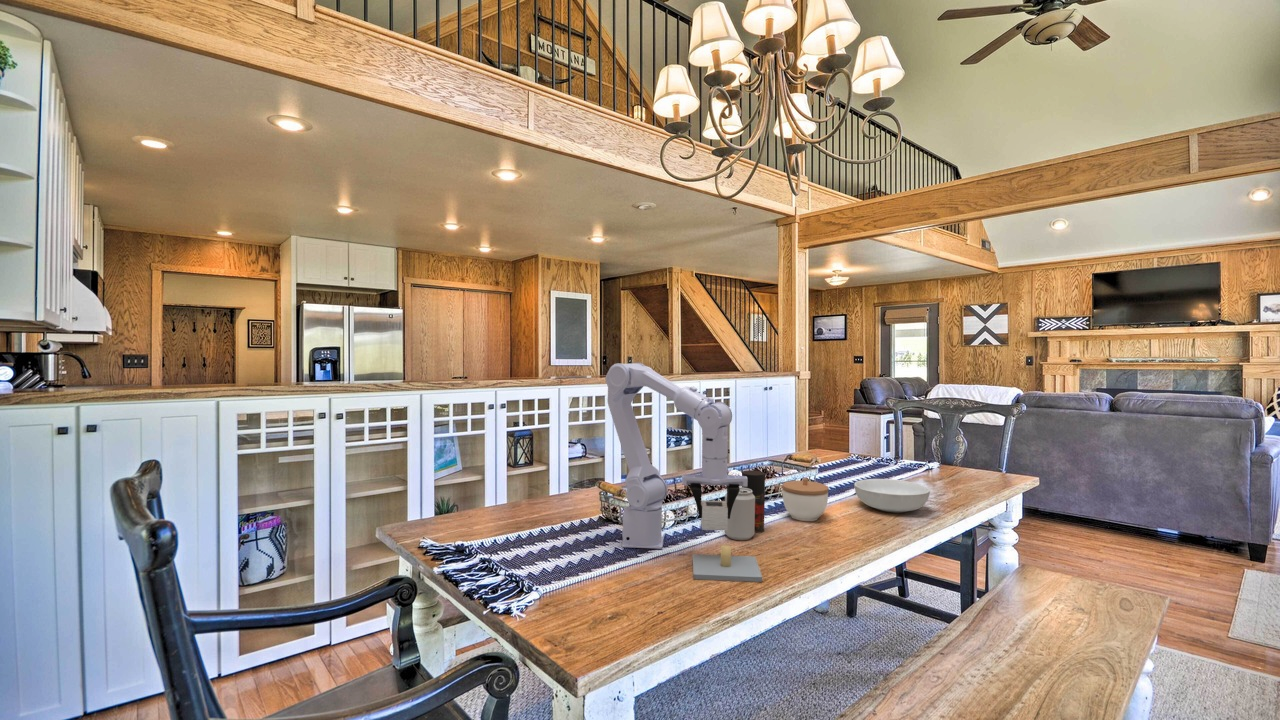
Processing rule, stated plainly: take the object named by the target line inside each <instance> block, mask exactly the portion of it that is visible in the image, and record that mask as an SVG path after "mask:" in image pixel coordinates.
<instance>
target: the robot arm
mask: <svg viewBox="0 0 1280 720" xmlns="http://www.w3.org/2000/svg"><path fill="white" fill-rule="evenodd" d="M604 379H605V382H606V385H607V406H608V409H609V412H610V414H611V417H612V421H613V424H614V425H613V426H614V427H615V430H616V434H617V436H618V440H619V443H620V446H621V449H622V453H623V455H624V459H625V462H626V465H627V469H628V473H627V475H626V477H625V480H624V483H625V486H626V494H625V495H626V496H625V497H626V500H627V502H628V504H629V505H627V506H624V507H623V513H622V531H621V535H622V547H623V548H629V549H630V548H631V549H632V548H633V549H635V548H637V549H656V550H657V549H659V550H660V549H663V545H664V536H663V535H662V532H663V531H662V528H663V527H662V525H663V524H662V521H663V519H662V517H663V500H665V498H666V497H667V495H668V491H669V490H668V484H667V483H666V481H665V480H664V478H663V477H662V476H661V474H660V471H659V469H658V468H656V466H654V465H652V464H651V461H650V459H649V458H650V457H649V455H648V451H647V449H646V445H645V442H644V440H643V437H642V434H641V430H640V427H639V425H638V421H637V419H636V415H635V412H634V409H633V406H632V403H633V400H634V398H635V396H636V395H637V394H638V393H640V391H641V390H643V388H644V387H647V388H649V389H651V390H652V391H655V392H656V393H659V394H660V395H662V396H664V397H666V398H668V399H670V400H672V401H673V403H674V407H675V409H677V410H679V411H681V412H682V413H684V414H685V415H688V417H690V418H692V419H693V420H696V421H697V423H698V425H699V426H700V428H701V436H702V437H701V440H702V441H701V442H702V443H701V445H702V446H701V473H700V474H699V473H698V474H697V473H696V474H681V485H682V486H688V485H689V488H690V492H691V494H692V495H693V498H694V501H695V504H696V508H697V513H698V518H699V519H701V518H702V508H701V501H702V493H703V492H702V486H707V485H708V486H726V494H727V507H728V519H730V515H731V510H732V507H733V504H734V501H735V499H736V497H737V495H738V493H739V491H740V488H739V487H742V486H743V487H747V482H748V478H747V476H742V475H734V474H728V461H729V460H728V456H729V455H728V451H729V449H728V447H729V444H728V443H729V440H728V439H729V437H728V435H729V434H728V433H729V427H728V426H729V425H730V424H731V423H732V420H733V412H732V409H731V408H730V406H728V405H727V404H726V403H725V402H723V401H717V402H715V399H714V398H713V397H711V396H709V397H707V396H705V395H704V394H702V393H700V392H699V391H698V388H697V387H695V386H685V387H682V388H681V387H680V386H678V385H677V384H675V383H674V382H672V381H670V380H669V379H668V378H665V376H662V375H661V374H659V373H658V372H657V371H655V370H654V369H653V368H651V367H650V366H646V365H645V364H643V363H642V362H634V363H633V362H632V363H614V364H612V365H611V366H610V367H609V370H607V373H606V376H605V377H604Z"/></svg>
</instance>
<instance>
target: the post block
mask: <svg viewBox="0 0 1280 720" xmlns="http://www.w3.org/2000/svg"><path fill="white" fill-rule="evenodd" d="M692 574H693V575H692V576H693V577H692V578H693V580H701V581H702V580H703V581H705V580H706V581H727V582H729V581H730V582H732V581H733V582H750V583H751V582H752V583H753V582H754V583H763V575H762V572H761V569H760V566H759V563H758V561H757V557H756V556H751V555H732V546H731V545H728V544H721V546H720V554H703V553H702V554H701V553H700V554H698V553H692Z"/></svg>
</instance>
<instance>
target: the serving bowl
mask: <svg viewBox="0 0 1280 720" xmlns="http://www.w3.org/2000/svg"><path fill="white" fill-rule="evenodd" d="M853 487H854V492H855V494H856V496H857V498H858V499H859V500H860V501H861V503H863V504H865V506H868V507H871V508H874V509H876V510H879V511H882V512H887V513H899V514H900V513H905V512H911V511H915V510H918V509H921V508H922V507H923V506H925V505H926V503H927V502H928V501H929V499H930V498H929V497H930V494H931V489H930V488H929V487H927V486H925V485H923V484H920V483H917V482H913V481H907V480H902V479H901V480H900V479H892V478H891V479H889V478H869V479H868V478H867V479H860V480H857V481H855V482H854V484H853Z"/></svg>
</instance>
